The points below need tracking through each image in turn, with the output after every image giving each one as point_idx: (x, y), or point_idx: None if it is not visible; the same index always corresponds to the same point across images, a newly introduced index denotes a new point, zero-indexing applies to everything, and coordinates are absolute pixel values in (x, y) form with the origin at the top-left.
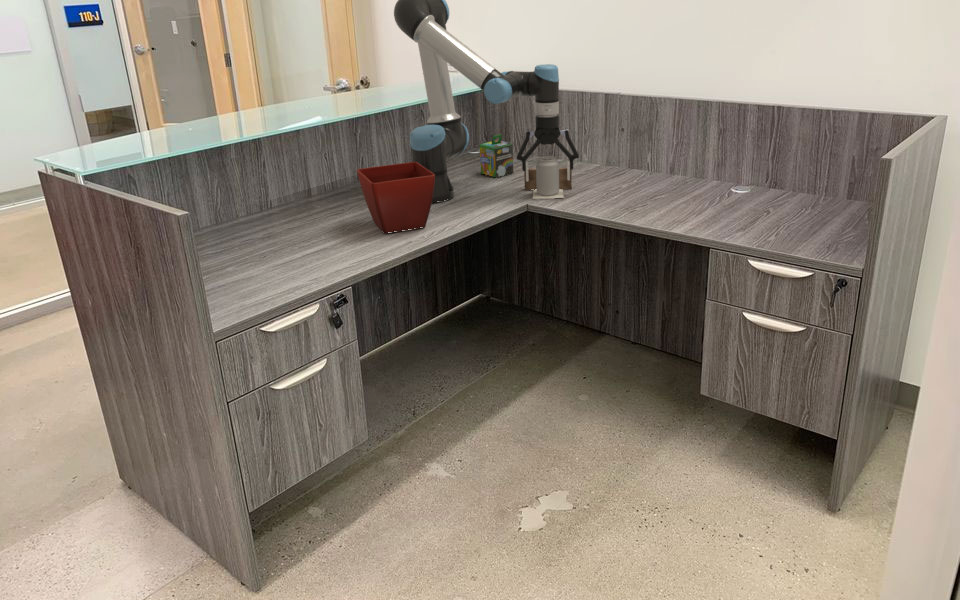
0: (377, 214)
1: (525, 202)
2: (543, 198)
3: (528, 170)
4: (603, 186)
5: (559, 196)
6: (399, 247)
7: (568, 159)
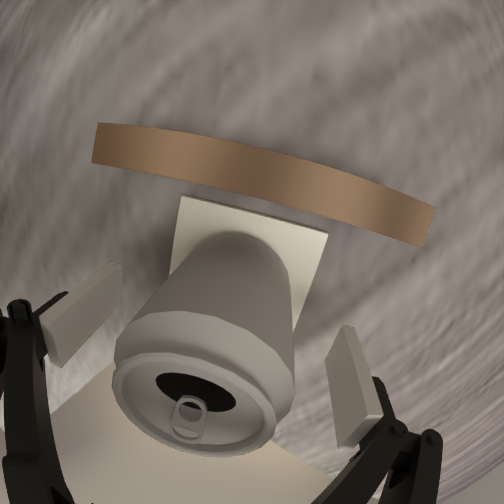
0: None
1: None
2: None
3: (115, 166)
4: (488, 228)
5: None
6: None
7: (367, 425)
